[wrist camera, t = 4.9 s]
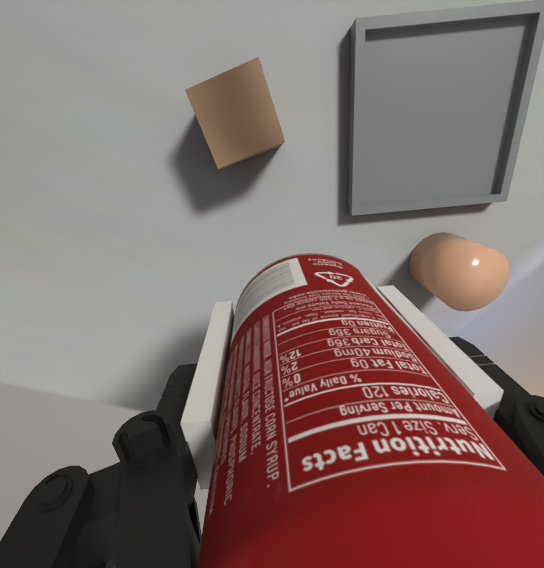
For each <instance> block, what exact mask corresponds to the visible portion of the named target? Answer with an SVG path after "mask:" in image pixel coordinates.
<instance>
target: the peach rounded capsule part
mask: <svg viewBox="0 0 544 568" xmlns="http://www.w3.org/2000/svg"><path fill="white" fill-rule="evenodd" d="M409 270H410V273H411V275H412V277H413V278H414V279H415V280H416V281H417V282H418V283H419V284H421V285H422V286H423V287H425V288H426V289H427V290H428V291H430V292H431V293H432V294H434V295H435V296H436V297H437V298H439V299H440V300H441V301H443V302H444V303H445V304H446V305H448V306H449V307H451V308H452V309H455V310H458V311H473V310H477V309H480V308H482V307H484V306H486V305H488V304H489V303H491V302H492V301H494V300H495V299H496V298H497V297H498V296H499V295H500V294H501V292H502V291H503V290H504V288H505V286H506V284H507V282H508V279H509V273H510V269H509V264H508V261H507V259H506V258H505V257H504V255H502V254H501V253H500V252H498V251H496V250H493V249H491V248H488V247H485V246H483V245H480V244H478V243H475V242H472V241H470V240H467V239H464V238H462V237H459V236H457V235H454V234H451V233H445V232H442V233H436V234H433V235H430V236H428V237H426V238H425V239H423V240H422V241H421V242H420V243H419V244H418V245H417V246H416V247H415V248H414V250H413V252H412V254H411V256H410V260H409Z"/></svg>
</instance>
